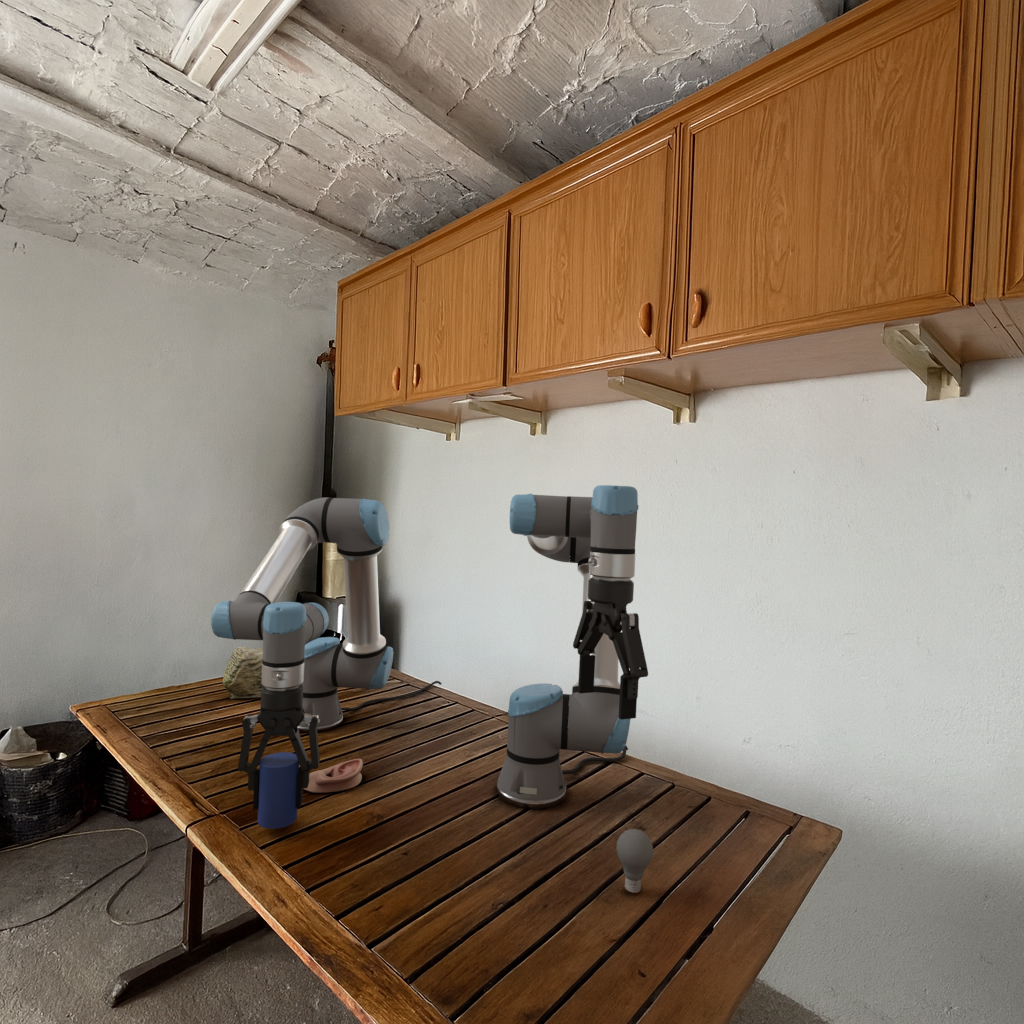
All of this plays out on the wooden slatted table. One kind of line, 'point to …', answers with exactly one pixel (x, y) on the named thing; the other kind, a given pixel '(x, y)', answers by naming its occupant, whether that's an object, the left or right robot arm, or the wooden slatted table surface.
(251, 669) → the fossil
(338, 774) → the anatomical model
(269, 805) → the blue cylinder
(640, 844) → the light bulb
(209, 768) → the wooden slatted table surface
